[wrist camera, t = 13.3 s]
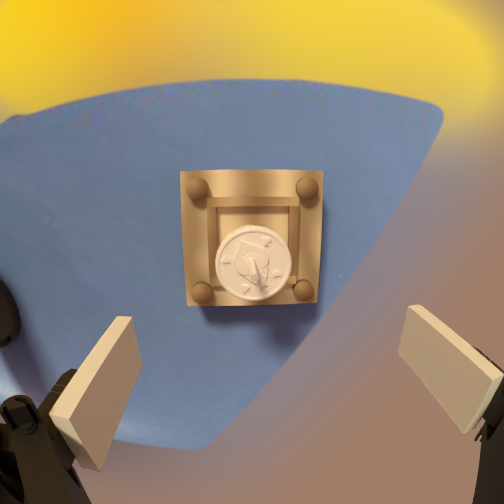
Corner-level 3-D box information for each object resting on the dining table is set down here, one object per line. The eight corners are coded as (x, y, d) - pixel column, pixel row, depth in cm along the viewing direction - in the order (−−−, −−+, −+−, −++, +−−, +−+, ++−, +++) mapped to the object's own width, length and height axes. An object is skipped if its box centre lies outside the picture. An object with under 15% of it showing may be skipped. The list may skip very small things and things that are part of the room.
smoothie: (262, 203, 32) (282, 222, 19) (285, 253, 34) (317, 303, 20) (210, 227, 33) (193, 263, 19) (235, 276, 34) (236, 339, 21)
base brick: (192, 290, 40) (186, 310, 34) (187, 172, 36) (178, 171, 30) (307, 288, 41) (319, 306, 35) (311, 171, 37) (326, 171, 31)
